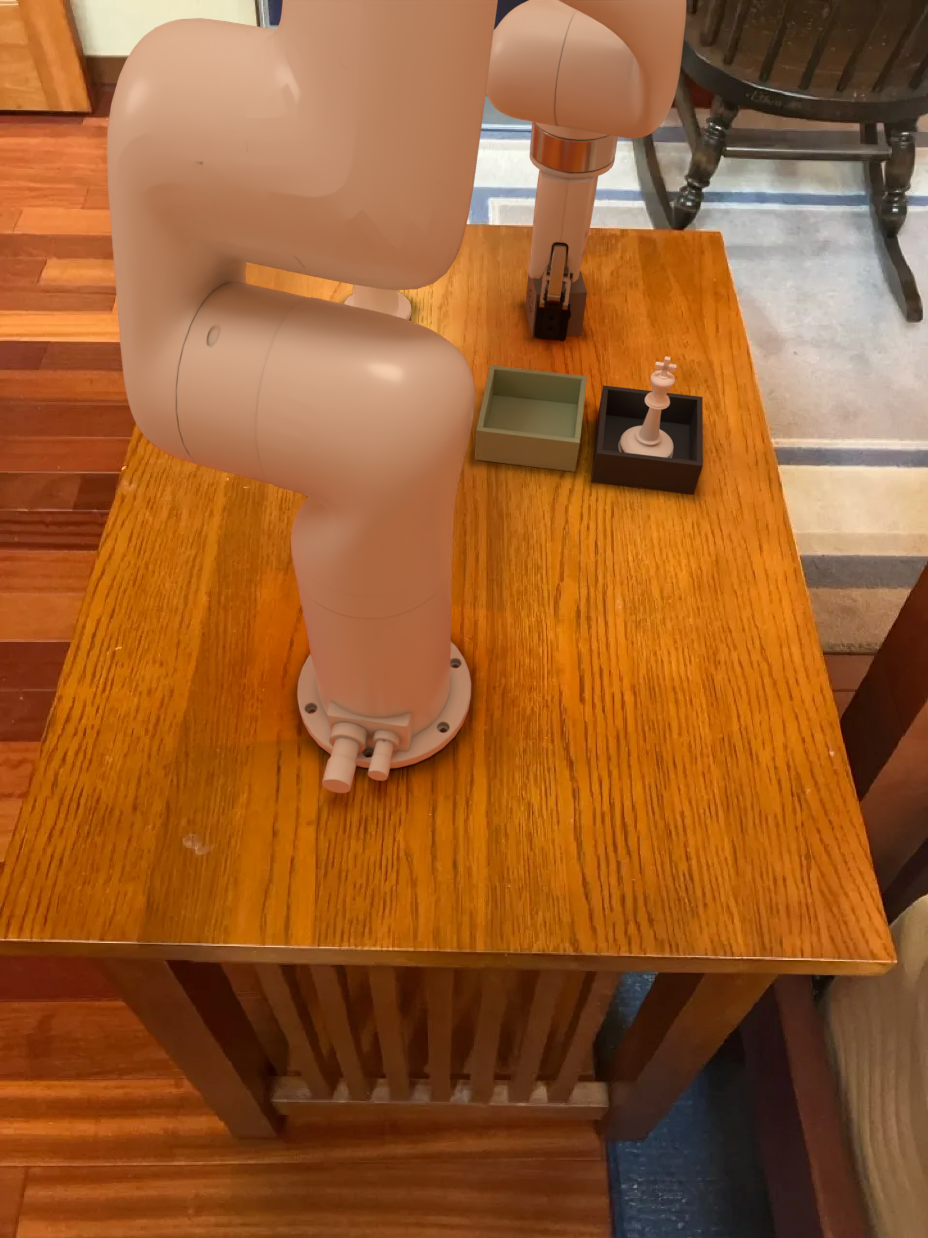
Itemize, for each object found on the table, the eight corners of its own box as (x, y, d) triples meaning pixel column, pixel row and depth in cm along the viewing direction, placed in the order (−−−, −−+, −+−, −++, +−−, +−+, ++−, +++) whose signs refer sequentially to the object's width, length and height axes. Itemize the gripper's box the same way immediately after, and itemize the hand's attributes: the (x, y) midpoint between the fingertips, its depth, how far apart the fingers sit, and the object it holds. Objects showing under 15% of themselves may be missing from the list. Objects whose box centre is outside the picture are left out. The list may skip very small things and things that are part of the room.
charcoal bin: (693, 494, 81) (703, 465, 78) (591, 482, 82) (596, 452, 79) (694, 426, 87) (702, 396, 84) (597, 414, 87) (603, 384, 84)
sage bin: (575, 472, 83) (579, 442, 80) (474, 459, 83) (476, 430, 80) (582, 405, 88) (587, 375, 85) (488, 394, 89) (490, 364, 86)
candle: (409, 336, 94) (402, 70, 74) (339, 333, 94) (312, 67, 74) (413, 294, 98) (407, 32, 78) (346, 292, 98) (322, 29, 78)
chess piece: (670, 472, 82) (696, 381, 74) (615, 463, 83) (634, 372, 75) (674, 435, 85) (699, 344, 77) (621, 426, 86) (640, 335, 78)
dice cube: (525, 307, 97) (529, 264, 93) (572, 306, 97) (578, 262, 93) (532, 337, 94) (536, 294, 90) (580, 335, 94) (587, 292, 90)
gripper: (540, 91, 86) (525, 266, 101) (519, 187, 76) (506, 367, 91) (621, 99, 86) (595, 274, 100) (611, 196, 76) (583, 375, 90)
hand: (553, 316), depth 95 cm, fingers closed on dice cube, 5 cm apart
